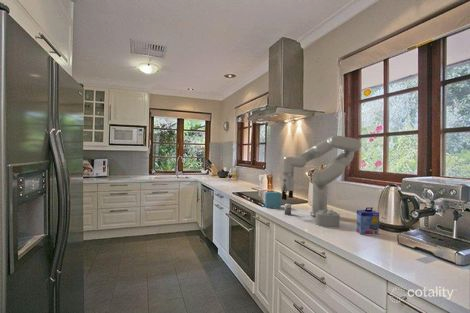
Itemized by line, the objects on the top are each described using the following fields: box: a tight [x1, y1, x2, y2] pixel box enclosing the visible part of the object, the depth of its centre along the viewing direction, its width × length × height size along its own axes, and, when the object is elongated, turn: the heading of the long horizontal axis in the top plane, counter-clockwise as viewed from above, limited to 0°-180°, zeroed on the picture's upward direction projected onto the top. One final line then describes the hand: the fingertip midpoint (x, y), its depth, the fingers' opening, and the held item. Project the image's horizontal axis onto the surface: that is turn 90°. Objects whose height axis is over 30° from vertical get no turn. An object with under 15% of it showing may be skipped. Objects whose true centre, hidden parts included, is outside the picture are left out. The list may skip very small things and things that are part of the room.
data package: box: [264, 191, 282, 209], centre depth 189 cm, size 12×4×12 cm, turn 94°
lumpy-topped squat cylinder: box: [315, 209, 341, 228], centre depth 144 cm, size 10×13×9 cm
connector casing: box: [284, 203, 292, 216], centre depth 167 cm, size 4×4×7 cm
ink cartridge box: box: [355, 206, 380, 235], centre depth 129 cm, size 10×6×14 cm, turn 91°
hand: (287, 198), depth 167 cm, fingers open, 9 cm apart
